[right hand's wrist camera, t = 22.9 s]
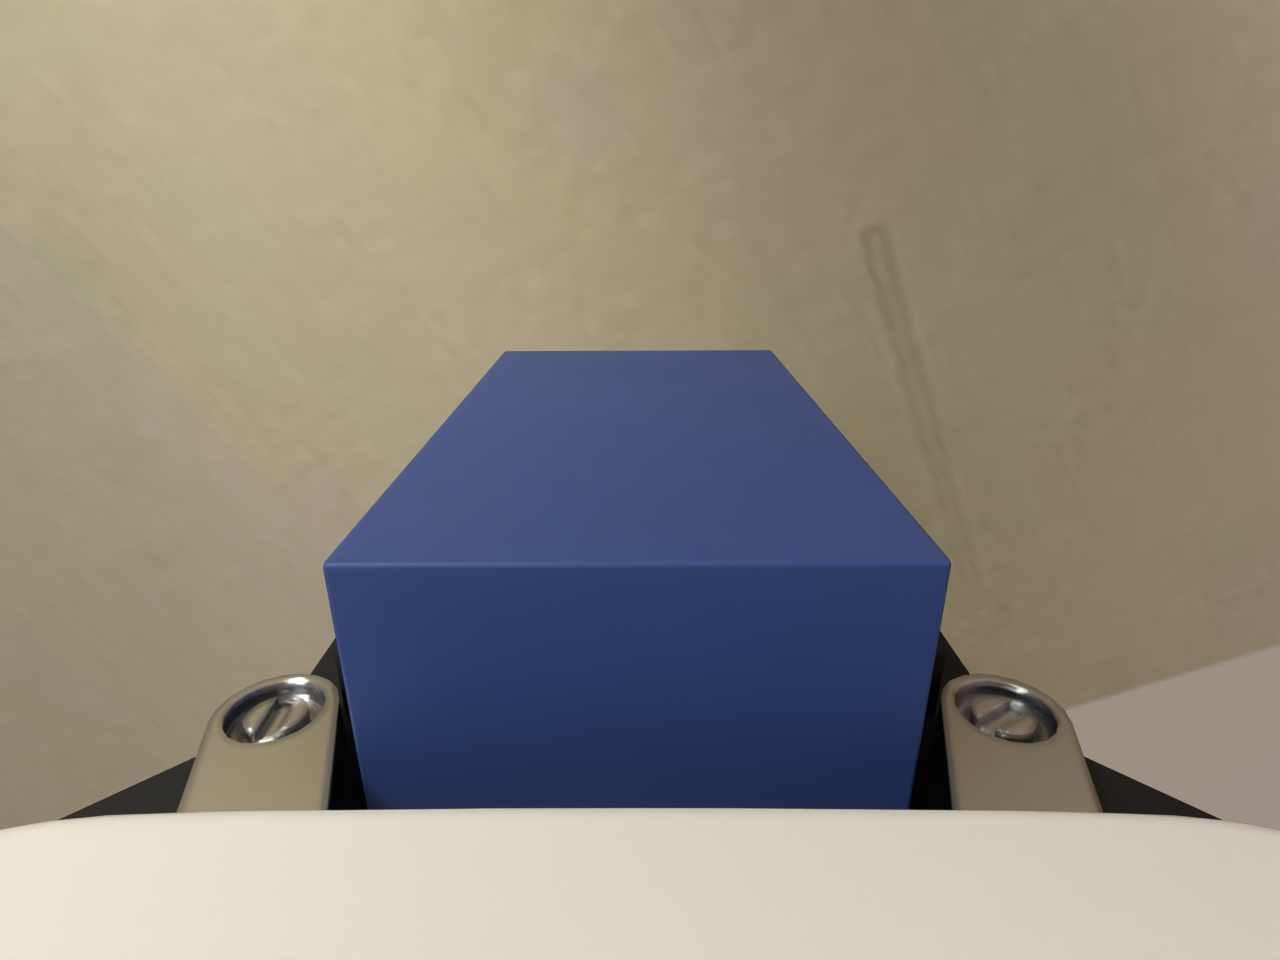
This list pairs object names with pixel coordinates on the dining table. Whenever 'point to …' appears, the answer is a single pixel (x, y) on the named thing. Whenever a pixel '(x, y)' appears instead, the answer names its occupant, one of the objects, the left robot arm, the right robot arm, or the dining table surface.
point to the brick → (637, 598)
